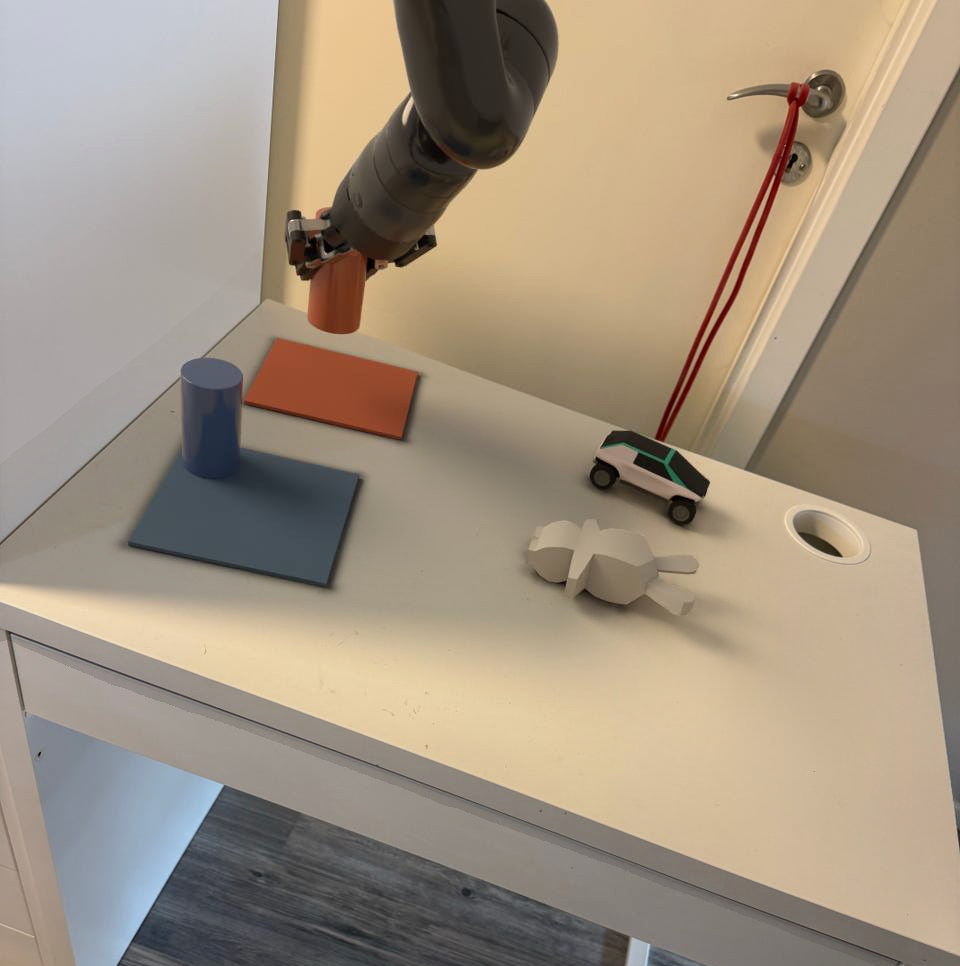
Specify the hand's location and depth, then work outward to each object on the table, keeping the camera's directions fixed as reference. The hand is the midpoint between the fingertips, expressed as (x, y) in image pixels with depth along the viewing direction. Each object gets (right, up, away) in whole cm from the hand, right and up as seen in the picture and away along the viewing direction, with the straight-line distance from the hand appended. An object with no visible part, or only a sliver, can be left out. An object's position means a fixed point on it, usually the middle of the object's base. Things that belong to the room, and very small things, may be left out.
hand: (331, 270), depth 85 cm
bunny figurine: (+26, -31, -5) cm, 41 cm away
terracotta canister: (0, -4, +2) cm, 5 cm away
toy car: (+32, -21, +7) cm, 38 cm away
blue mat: (-5, -25, -9) cm, 26 cm away
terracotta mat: (-1, -9, +8) cm, 12 cm away
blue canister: (-10, -20, -6) cm, 23 cm away
